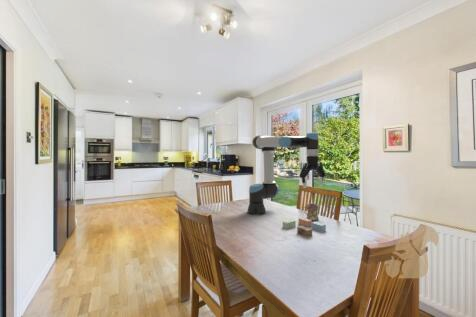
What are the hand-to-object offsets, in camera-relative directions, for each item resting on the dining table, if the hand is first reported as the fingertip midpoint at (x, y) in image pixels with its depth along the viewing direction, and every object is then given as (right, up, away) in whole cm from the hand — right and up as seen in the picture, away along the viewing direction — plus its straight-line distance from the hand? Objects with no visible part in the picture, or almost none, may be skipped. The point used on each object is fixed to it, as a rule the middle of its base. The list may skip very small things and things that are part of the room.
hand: (312, 187), depth 147 cm
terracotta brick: (-4, -26, +3) cm, 27 cm away
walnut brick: (-10, -27, -15) cm, 32 cm away
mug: (+4, -26, +15) cm, 30 cm away
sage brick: (-16, -27, -1) cm, 31 cm away
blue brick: (+1, -27, -6) cm, 27 cm away
